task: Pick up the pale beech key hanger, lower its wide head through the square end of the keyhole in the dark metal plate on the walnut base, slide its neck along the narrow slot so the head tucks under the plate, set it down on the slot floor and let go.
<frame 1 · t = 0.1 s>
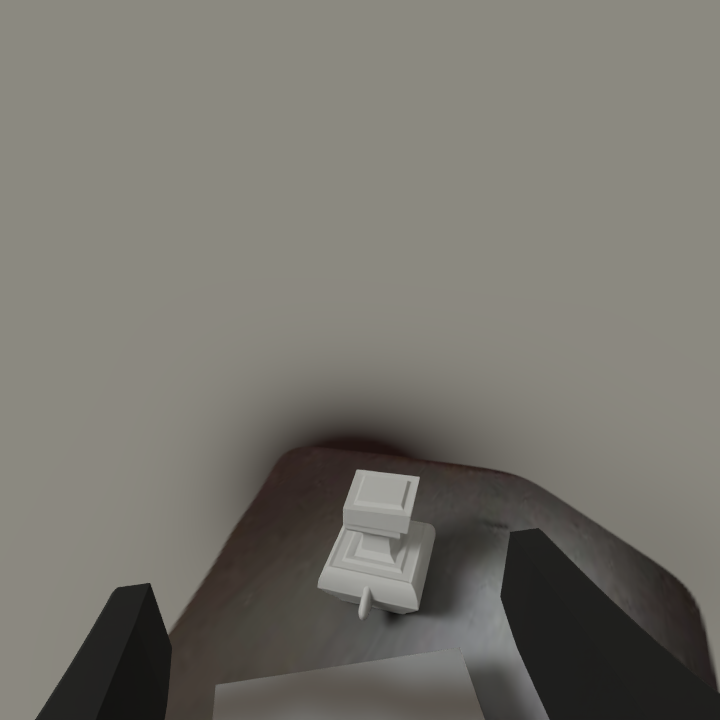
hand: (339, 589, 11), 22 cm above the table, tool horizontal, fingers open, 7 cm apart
stamp: (380, 587, 38), on the table
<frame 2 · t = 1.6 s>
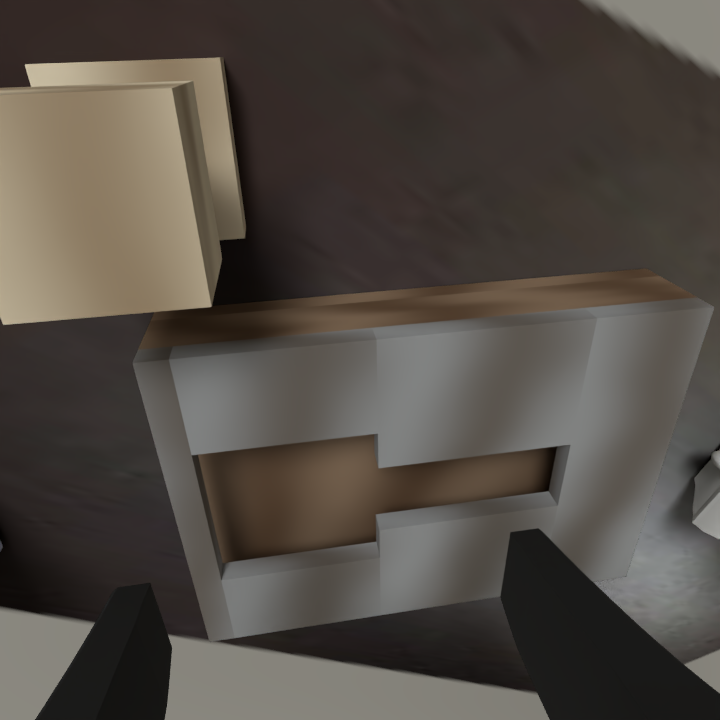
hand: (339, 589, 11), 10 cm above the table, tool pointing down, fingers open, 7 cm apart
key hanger: (153, 153, 16), on the table
keyhole base: (410, 433, 23), on the table
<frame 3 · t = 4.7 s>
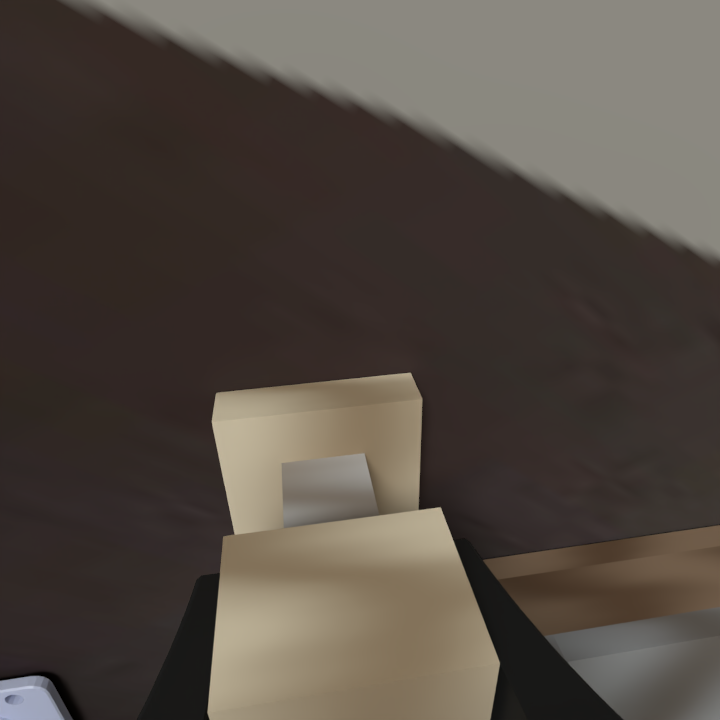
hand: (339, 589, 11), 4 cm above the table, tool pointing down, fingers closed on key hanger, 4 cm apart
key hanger: (321, 458, 14), on the table, touching gripper
keyhole base: (543, 661, 21), on the table
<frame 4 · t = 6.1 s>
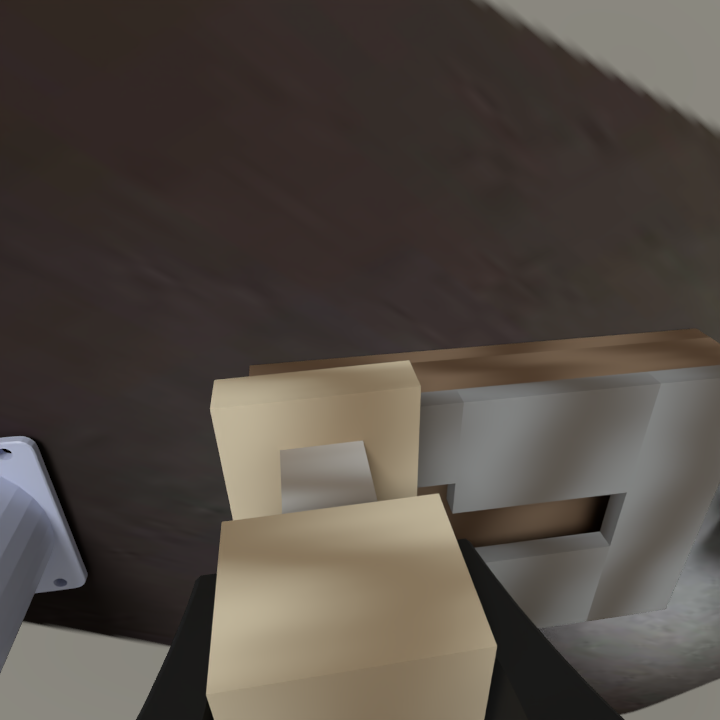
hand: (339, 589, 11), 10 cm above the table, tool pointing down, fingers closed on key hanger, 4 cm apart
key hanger: (320, 445, 14), point 6 cm above the table, touching gripper
keyhole base: (469, 473, 24), on the table
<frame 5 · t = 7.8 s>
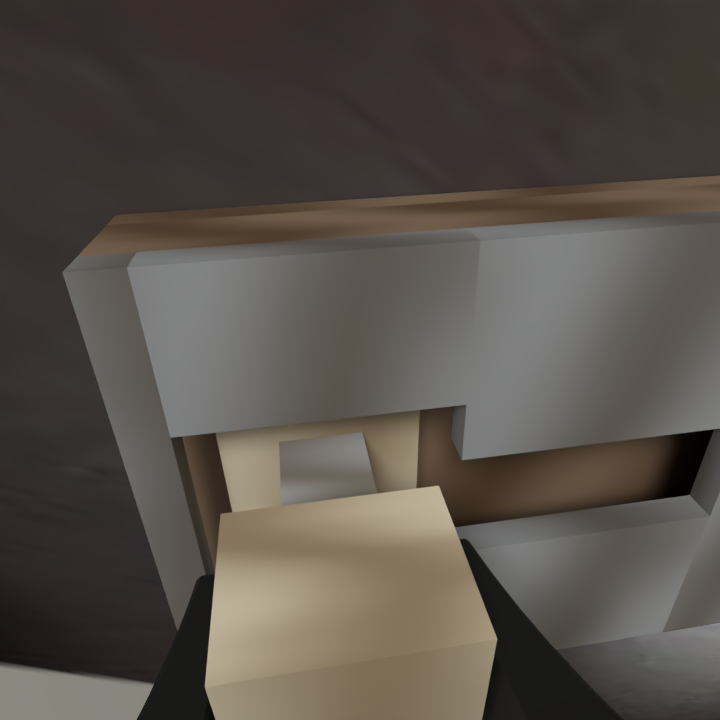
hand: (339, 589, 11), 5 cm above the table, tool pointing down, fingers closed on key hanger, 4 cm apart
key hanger: (319, 437, 14), point 1 cm above the table, touching gripper
keyhole base: (485, 412, 16), on the table
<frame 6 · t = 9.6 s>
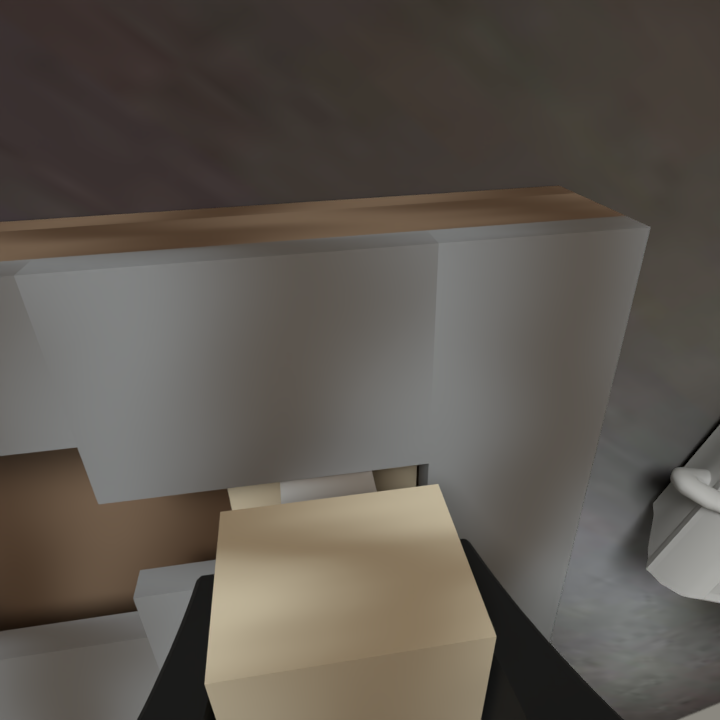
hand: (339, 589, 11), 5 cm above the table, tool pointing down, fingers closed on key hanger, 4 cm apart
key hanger: (319, 436, 14), point 1 cm above the table, touching gripper
keyhole base: (221, 442, 15), on the table
when the fingers open (5 cm above the table, at t = 11.0 s): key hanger stays where it is, resting on keyhole base.
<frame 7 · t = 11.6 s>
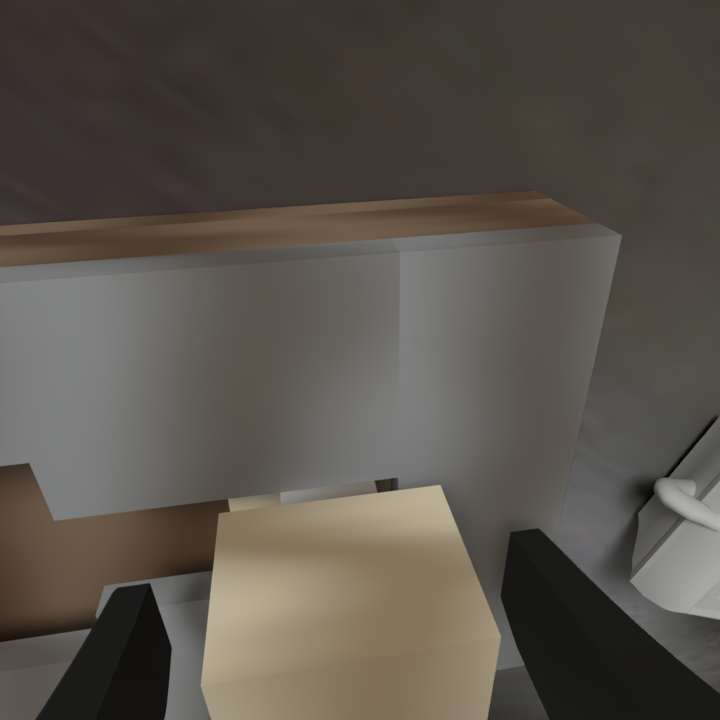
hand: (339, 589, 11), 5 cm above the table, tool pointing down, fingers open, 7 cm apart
stamp: (712, 468, 19), on the table
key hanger: (319, 441, 14), point 1 cm above the table, touching keyhole base
keyhole base: (192, 452, 15), on the table
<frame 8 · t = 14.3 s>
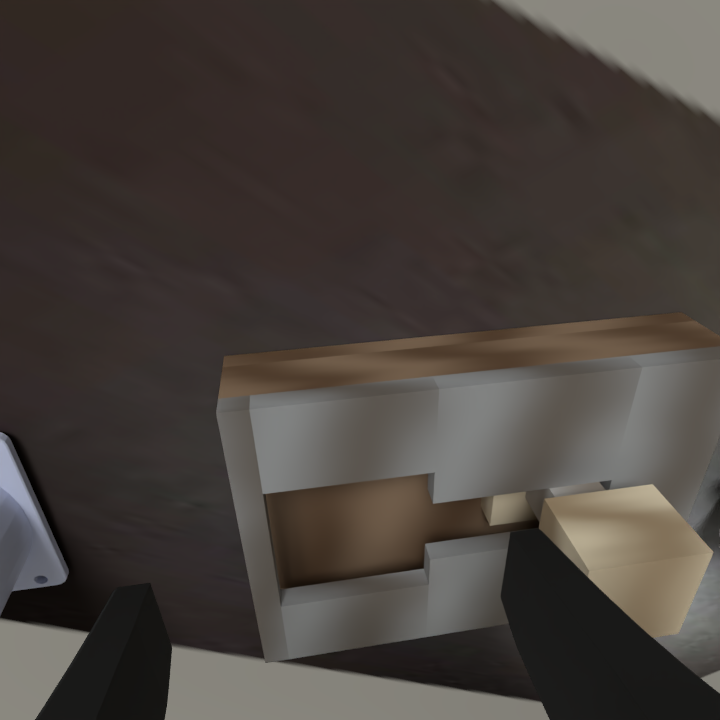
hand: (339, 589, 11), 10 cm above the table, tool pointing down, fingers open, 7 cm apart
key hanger: (538, 457, 23), point 1 cm above the table, touching keyhole base
keyhole base: (454, 464, 24), on the table
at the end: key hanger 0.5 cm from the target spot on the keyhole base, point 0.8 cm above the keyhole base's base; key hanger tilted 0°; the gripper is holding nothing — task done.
